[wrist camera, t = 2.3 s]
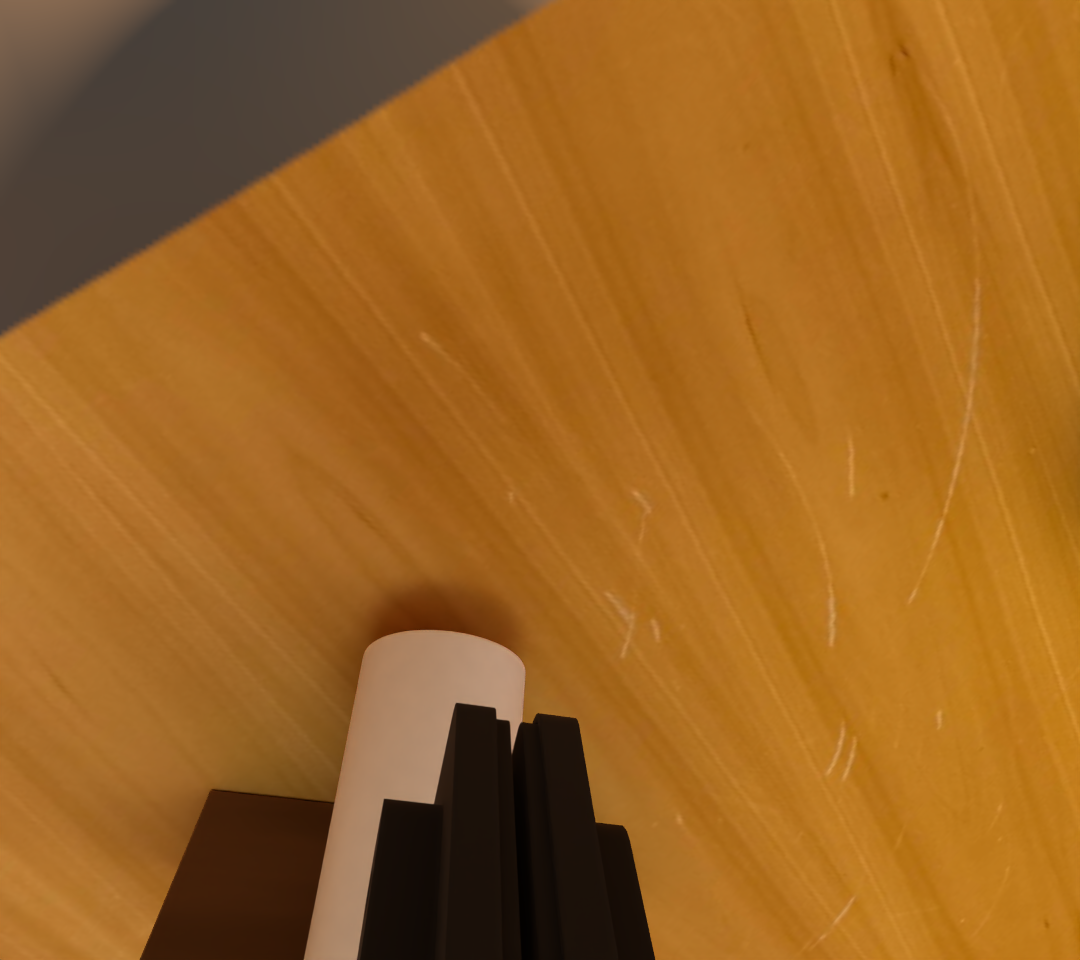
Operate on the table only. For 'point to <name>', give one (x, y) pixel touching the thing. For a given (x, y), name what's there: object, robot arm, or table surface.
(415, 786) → the paper roll
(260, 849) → the wooden block
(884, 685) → the table surface
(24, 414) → the table surface
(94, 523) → the table surface
